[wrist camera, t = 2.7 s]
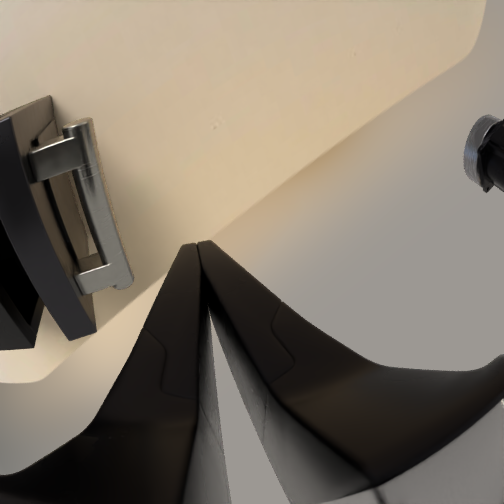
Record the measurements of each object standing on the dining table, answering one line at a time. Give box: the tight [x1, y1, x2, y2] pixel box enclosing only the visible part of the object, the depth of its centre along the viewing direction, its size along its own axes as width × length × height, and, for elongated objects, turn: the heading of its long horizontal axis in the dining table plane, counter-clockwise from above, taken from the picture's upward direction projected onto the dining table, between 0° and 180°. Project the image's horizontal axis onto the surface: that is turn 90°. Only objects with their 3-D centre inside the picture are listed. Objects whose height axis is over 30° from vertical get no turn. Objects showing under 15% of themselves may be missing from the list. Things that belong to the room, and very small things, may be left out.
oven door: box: [0, 95, 134, 341], centre depth 12 cm, size 4×10×9 cm, turn 1°
